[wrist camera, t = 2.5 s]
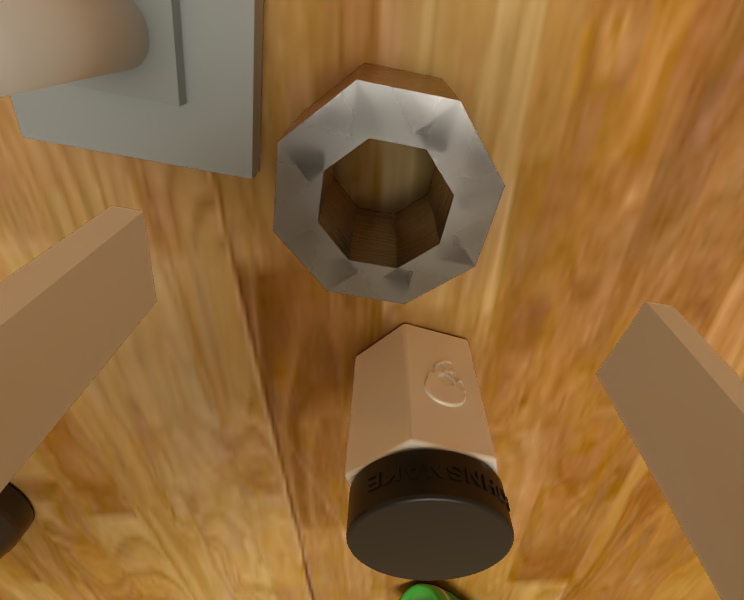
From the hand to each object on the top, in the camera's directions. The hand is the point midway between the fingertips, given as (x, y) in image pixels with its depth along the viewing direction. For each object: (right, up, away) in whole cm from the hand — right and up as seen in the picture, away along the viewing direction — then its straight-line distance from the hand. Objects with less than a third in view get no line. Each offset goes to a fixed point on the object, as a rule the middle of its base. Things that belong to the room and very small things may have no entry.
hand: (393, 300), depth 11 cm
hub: (0, +7, +10) cm, 13 cm away
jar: (+3, -5, +19) cm, 20 cm away
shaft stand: (-11, +12, +7) cm, 18 cm away
